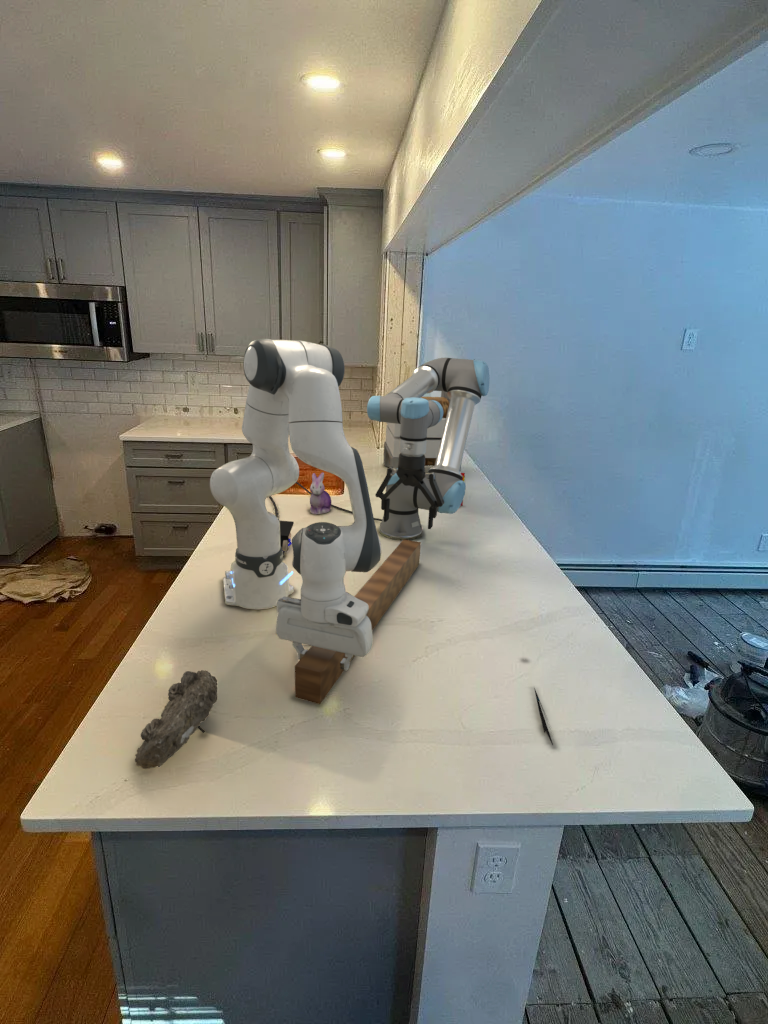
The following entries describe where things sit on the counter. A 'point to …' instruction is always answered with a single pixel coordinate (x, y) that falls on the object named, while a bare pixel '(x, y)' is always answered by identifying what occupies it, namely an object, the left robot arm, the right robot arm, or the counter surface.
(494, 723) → the counter surface
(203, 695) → the fossil
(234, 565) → the left robot arm
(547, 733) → the feather
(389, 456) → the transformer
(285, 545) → the figurine character
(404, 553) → the post
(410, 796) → the counter surface
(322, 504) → the figurine
